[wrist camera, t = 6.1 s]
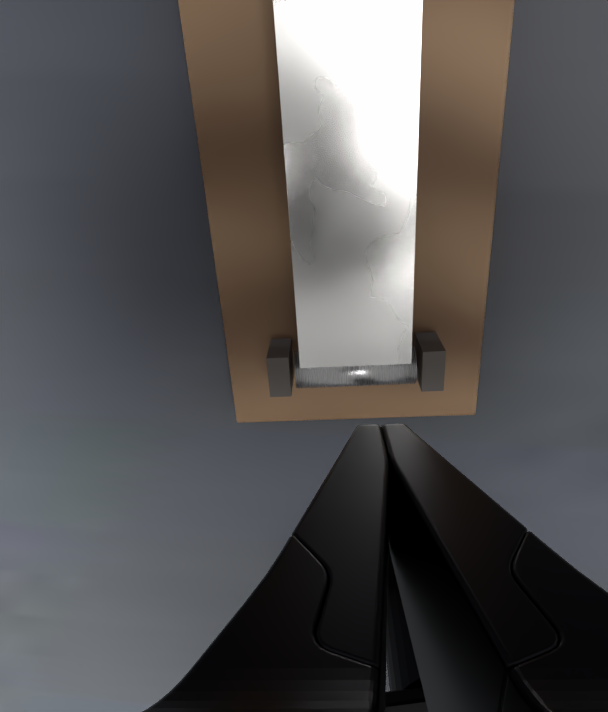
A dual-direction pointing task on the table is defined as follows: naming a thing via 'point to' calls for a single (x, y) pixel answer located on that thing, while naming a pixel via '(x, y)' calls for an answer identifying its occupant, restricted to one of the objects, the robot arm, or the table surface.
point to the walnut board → (271, 217)
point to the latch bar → (351, 184)
